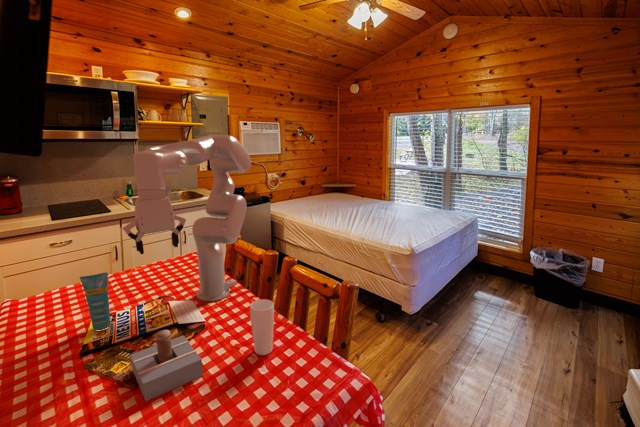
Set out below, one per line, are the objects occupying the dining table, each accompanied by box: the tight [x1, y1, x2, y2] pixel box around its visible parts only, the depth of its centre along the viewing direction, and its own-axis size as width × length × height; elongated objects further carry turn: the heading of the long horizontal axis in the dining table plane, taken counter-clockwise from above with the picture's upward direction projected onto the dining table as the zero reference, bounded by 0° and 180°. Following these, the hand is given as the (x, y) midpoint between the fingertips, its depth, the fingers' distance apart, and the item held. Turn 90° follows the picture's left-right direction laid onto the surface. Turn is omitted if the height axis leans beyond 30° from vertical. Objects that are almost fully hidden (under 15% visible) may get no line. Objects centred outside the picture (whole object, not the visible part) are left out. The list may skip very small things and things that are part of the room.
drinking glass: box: [249, 298, 275, 356], centre depth 99 cm, size 7×7×15 cm
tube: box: [79, 271, 111, 331], centre depth 109 cm, size 7×5×19 cm, turn 123°
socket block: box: [130, 334, 204, 402], centre depth 90 cm, size 14×14×5 cm
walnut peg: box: [155, 329, 173, 364], centre depth 89 cm, size 4×4×12 cm
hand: (158, 249), depth 103 cm, fingers open, 9 cm apart
